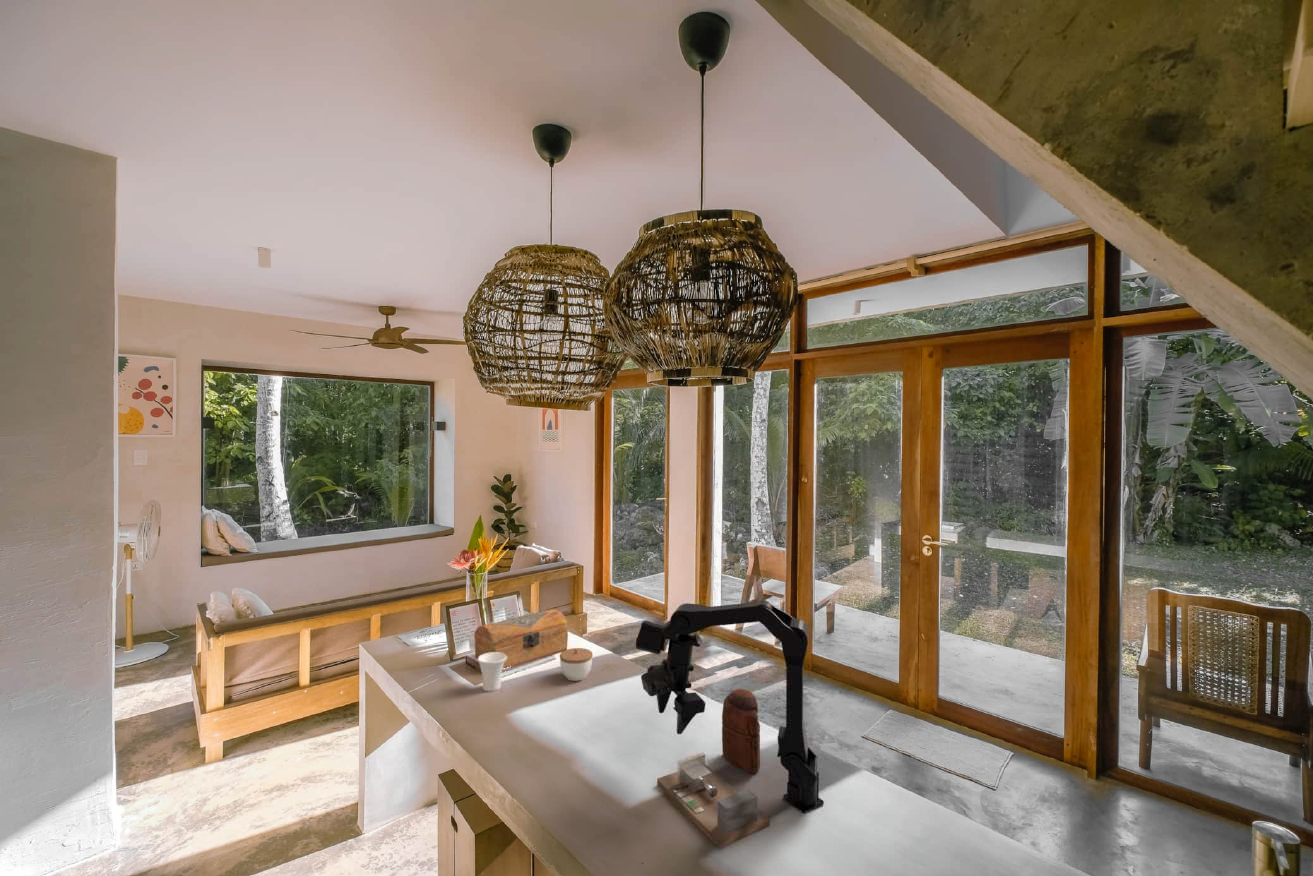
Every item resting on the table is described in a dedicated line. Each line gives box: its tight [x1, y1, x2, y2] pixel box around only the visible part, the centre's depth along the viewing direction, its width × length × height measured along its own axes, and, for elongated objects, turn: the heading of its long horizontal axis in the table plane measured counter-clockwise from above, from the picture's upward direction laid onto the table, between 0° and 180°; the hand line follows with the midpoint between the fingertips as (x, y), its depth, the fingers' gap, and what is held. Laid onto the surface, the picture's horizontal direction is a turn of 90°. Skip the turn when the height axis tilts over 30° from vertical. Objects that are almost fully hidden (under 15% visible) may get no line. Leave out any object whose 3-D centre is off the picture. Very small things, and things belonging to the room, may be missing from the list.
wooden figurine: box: [721, 688, 761, 774], centre depth 147 cm, size 12×6×18 cm, turn 42°
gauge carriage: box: [675, 752, 717, 797], centre depth 133 cm, size 9×9×5 cm
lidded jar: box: [559, 647, 593, 682], centre depth 197 cm, size 11×11×9 cm
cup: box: [477, 652, 507, 692], centre depth 189 cm, size 9×9×10 cm
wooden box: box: [473, 609, 569, 669], centre depth 215 cm, size 30×16×14 cm, turn 132°
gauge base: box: [656, 763, 771, 849], centre depth 131 cm, size 13×24×6 cm, turn 31°
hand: (669, 723), depth 140 cm, fingers open, 9 cm apart
